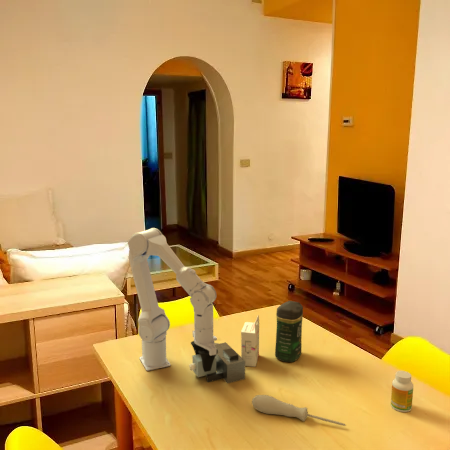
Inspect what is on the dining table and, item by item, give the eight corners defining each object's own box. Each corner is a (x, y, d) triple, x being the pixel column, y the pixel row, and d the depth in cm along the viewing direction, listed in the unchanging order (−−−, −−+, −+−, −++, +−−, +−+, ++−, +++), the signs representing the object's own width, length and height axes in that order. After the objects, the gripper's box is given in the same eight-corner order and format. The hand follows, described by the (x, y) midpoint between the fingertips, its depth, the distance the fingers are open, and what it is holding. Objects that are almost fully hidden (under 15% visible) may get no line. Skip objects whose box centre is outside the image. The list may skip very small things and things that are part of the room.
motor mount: (192, 363, 151) (192, 343, 150) (223, 356, 155) (223, 337, 154) (211, 387, 137) (211, 365, 135) (245, 379, 141) (245, 357, 140)
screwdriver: (344, 438, 116) (345, 426, 114) (249, 412, 125) (249, 400, 123) (347, 424, 120) (348, 412, 118) (255, 400, 129) (255, 388, 127)
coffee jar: (294, 365, 150) (296, 310, 146) (271, 359, 153) (272, 306, 150) (304, 353, 158) (306, 301, 154) (282, 348, 162) (284, 297, 158)
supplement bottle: (409, 415, 123) (412, 381, 121) (388, 408, 126) (390, 375, 124) (413, 405, 127) (416, 372, 126) (393, 399, 130) (395, 367, 128)
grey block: (188, 371, 143) (187, 356, 142) (210, 366, 146) (210, 351, 145) (193, 378, 139) (193, 362, 138) (216, 372, 142) (216, 357, 141)
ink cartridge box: (244, 353, 158) (245, 312, 155) (259, 355, 157) (259, 313, 154) (240, 365, 149) (240, 322, 146) (255, 367, 148) (256, 324, 146)
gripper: (225, 332, 135) (226, 375, 138) (206, 315, 148) (207, 354, 151) (203, 336, 132) (204, 380, 135) (186, 318, 145) (186, 358, 148)
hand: (204, 367), depth 143 cm, fingers closed on grey block, 4 cm apart
